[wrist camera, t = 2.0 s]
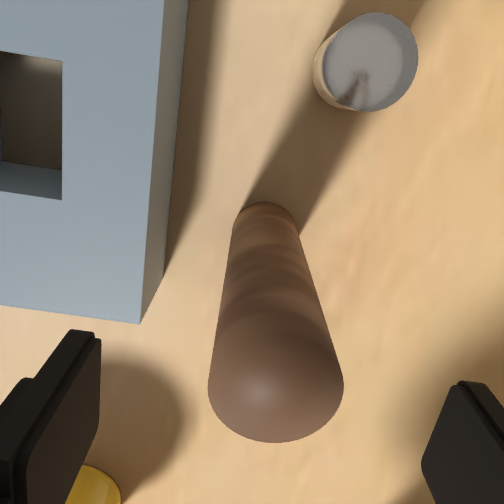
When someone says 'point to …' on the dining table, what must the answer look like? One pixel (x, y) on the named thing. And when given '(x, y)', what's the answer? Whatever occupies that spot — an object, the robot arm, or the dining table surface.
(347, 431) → the dining table surface
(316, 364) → the long walnut pin
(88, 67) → the hole block
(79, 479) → the plant pot
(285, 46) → the dining table surface
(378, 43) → the short steel pin
